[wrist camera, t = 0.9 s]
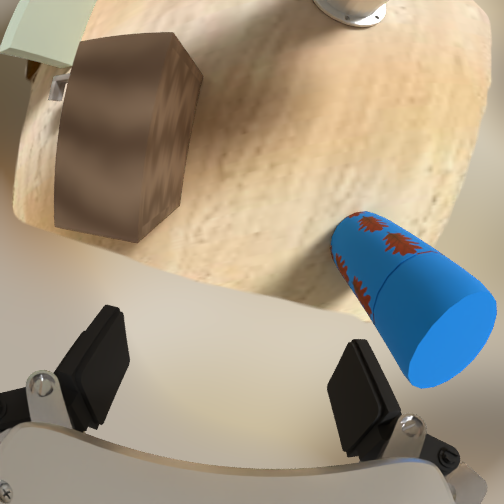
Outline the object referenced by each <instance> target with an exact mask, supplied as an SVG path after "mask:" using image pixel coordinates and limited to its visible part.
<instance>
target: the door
mask: <svg viewBox="0 0 504 504" xmlns="http://www.w3.org/2000/svg"><path fill="white" fill-rule="evenodd" d="M96 1H97V0H20V2H19V4H18V6H17V8H16V10H15V12H14V14H13V16H12V18H11V21H10V23H9V25H8V28H7V30H6V33H5V35H4V38H3V41H2V44H1V46H0V53H1V54H6V55H11V56H16V57H20V58H24V59H28V60H33V61H36V62H40V63H44V64H48V65H51V66H55V67H58V68H65V67H70V66H72V65H73V61H74V58H75V55H76V52H77V48H78V45H79V42H81V39H82V36H83V33H84V31H85V28H86V25H87V23H88V20H89V18H90V15H91V13H92V11H93V8H94V6H95V4H96Z"/></svg>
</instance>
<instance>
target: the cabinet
mask: <svg viewBox="0 0 504 504" xmlns="http://www.w3.org/2000/svg"><path fill="white" fill-rule="evenodd" d="M202 79H203V75H202V74H201V72H200V71H199V69H198V68H197V66H196V65H195V63H194V62H193V60H192V59H191V57H190V56H189V54H188V53H187V51H186V50H185V49H184V47H183V46H182V44H181V43H180V41H179V40H178V38H177V37H176V36H175V34H174V33H173V32H161V33H140V34H128V35H119V36H111V37H104V38H98V39H92V40H86V41H81V42H79V45H78V48H77V52H76V55H75V58H74V61H73V65H72V69H71V72H70V74H64V75H58V76H53V80H52V85H51V89H50V94H49V98H48V100H53V101H62V97H63V93H64V88H65V84H66V83H68V84H67V89H66V93H65V98H64V103H63V108H62V114H61V120H60V127H59V134H58V142H57V152H56V164H55V184H54V220H55V227H57V228H62V229H67V230H72V231H77V232H82V233H87V234H93V235H98V236H103V237H108V238H113V239H118V240H123V241H129V242H134V243H138V242H139V241H140V240H142V239H143V238H144V237H145V236H146V235H147V234H148V233H149V232H150V231H151V230H152V229H154V228H155V227H156V226H157V225H158V224H159V223H160V222H161V221H163V220H164V219H165V218H166V217H167V216H168V215H169V214H171V213H172V212H173V211H174V210H175V209H176V208H177V207H179V206H180V199H181V192H182V185H183V178H184V171H185V165H186V159H187V153H188V147H189V141H190V136H191V130H192V125H193V120H194V115H195V110H196V106H197V101H198V96H199V92H200V87H201V83H202Z"/></svg>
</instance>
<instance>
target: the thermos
mask: <svg viewBox="0 0 504 504" xmlns="http://www.w3.org/2000/svg"><path fill="white" fill-rule="evenodd" d="M330 249H331V254H332V258H333V260H334V262H335V264H336V266H337V268H338V270H339V271H340V273H341V274H342V276H343V277H344V279H345V280H346V282H347V283H348V285H349V286H350V288H351V289H352V291H353V292H354V294H355V295H356V297H357V298H358V300H359V301H360V303H361V305H362V306H363V308H364V309H365V311H366V312H367V314H368V316H369V317H370V319H371V320H372V322H373V324H374V325H375V327H376V328H377V330H378V332H379V333H380V335H381V337H382V338H383V340H384V342H385V343H386V345H387V346H388V348H389V350H390V352H391V353H392V355H393V357H394V358H395V360H396V362H397V364H398V365H399V367H400V369H401V371H402V372H403V374H404V375H405V377H406V378H407V379H408V380H409V382H410V383H411V384H412V385H413V386H416V387H419V388H421V389H422V388H430V387H435V386H437V385H440V384H442V383H444V382H446V381H448V380H450V379H451V378H453V377H454V376H456V375H457V374H458V373H460V372H461V371H462V370H463V369H464V368H465V367H467V365H468V364H470V363H471V362H472V361H473V360H474V358H475V357H476V356H477V355H478V353H479V352H480V351H481V349H482V348H483V346H484V345H485V343H486V342H487V340H488V338H489V335H490V333H491V331H492V329H493V326H494V323H495V319H496V315H497V310H496V301H495V299H494V297H493V296H492V294H491V293H490V292H489V291H488V290H487V289H486V288H485V286H484V285H483V284H482V283H481V282H480V281H479V280H477V279H476V278H475V277H473V276H472V275H471V274H469V273H468V272H467V271H465V270H464V269H463V268H461V267H460V266H459V265H457V264H456V263H454V262H453V261H451V260H450V259H449V258H447V257H445V256H444V255H443V254H441V253H440V252H439V251H437V250H436V249H434V248H433V247H431V246H430V245H428V244H427V243H425V242H423V241H422V240H420V239H419V238H417V237H416V236H414V235H413V234H411V233H409V232H408V231H406V230H405V229H403V228H401V227H400V226H398V225H396V224H395V223H393V222H391V221H390V220H388V219H386V218H384V217H381V216H379V215H377V214H374V213H370V212H367V211H365V212H356V213H354V214H352V215H350V216H348V217H346V218H345V219H344V220H343V221H342V222H341V223H340V224H339V225H338V226H337V228H336V230H335V232H334V234H333V236H332V240H331V247H330Z"/></svg>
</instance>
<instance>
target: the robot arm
mask: <svg viewBox="0 0 504 504" xmlns="http://www.w3.org/2000/svg"><path fill="white" fill-rule="evenodd" d="M313 1H314V3H315V4H316V5H317V6H318V7H319V8H320V9H321V10H322V11H323V12H324V13H325V14H327V15H328V16H330V17H331V18H333V19H335V20H337V21H339V22H341V23H344V24H347V25H351V26H355V27H370V26H374V25H376V24H378V23H379V22H380V21H381V20H382V19H383V18H384V16H385V13H386V6H385V3H386V2H388V1H389V0H313ZM129 362H130V357H129V351H128V345H127V338H126V331H125V323H124V315H123V313H122V312H120V309H119V308H118V307H114V306H110V305H105V306H104V307H103V308H102V310H101V311H100V312H99V314H98V315H97V316H96V318H95V319H94V320H93V322H92V323H91V324H90V325H89V327H88V328H87V330H86V331H83V332H82V333H81V334H80V336H79V337H78V339H77V340H76V341H75V343H74V344H73V346H72V347H71V348H70V350H69V351H68V353H67V354H66V355H65V357H64V358H63V360H62V361H61V363H60V364H59V366H58V367H57V369H56V370H55V372H54V373H52V372H50V371H46V370H40V371H37V372H34V373H33V374H31V375H30V376H29V378H28V379H27V382H26V387H24V388H20V389H16V390H11V391H7V392H3V393H0V504H481V502H482V500H483V498H484V497H485V495H486V492H487V484H486V482H485V480H484V479H483V478H482V477H480V476H479V475H478V474H477V473H476V472H475V471H473V470H472V469H471V468H470V467H469V466H468V465H467V464H465V463H464V462H462V463H460V455H459V453H458V451H457V450H456V449H455V448H454V447H453V446H451V445H449V444H447V443H445V442H443V441H441V440H438V439H437V438H435V437H432V436H430V435H429V434H427V426H426V423H425V422H424V420H423V419H422V418H421V417H420V416H418V415H416V414H413V413H406V414H403V415H402V414H401V409H400V407H399V404H398V402H397V400H396V398H395V396H394V394H393V391H392V389H391V387H390V385H389V383H388V381H387V379H386V377H385V375H384V373H383V371H382V369H381V367H380V365H379V363H378V361H377V359H376V357H375V355H374V353H373V351H372V349H371V347H370V345H369V343H368V342H367V340H365V339H353V340H352V341H351V342H349V343H348V344H347V346H346V348H345V350H344V353H343V355H342V357H341V359H340V361H339V363H338V365H337V367H336V369H335V371H334V373H333V375H332V377H331V379H330V381H329V383H328V386H327V391H328V395H329V399H330V402H331V406H332V410H333V413H334V418H335V421H336V425H337V429H338V433H339V437H340V441H341V445H342V449H343V451H344V452H346V453H347V457H355V456H359V459H360V461H359V463H353V464H345V465H336V466H327V467H316V468H299V469H253V468H235V467H225V466H216V465H207V464H200V463H194V462H187V461H182V460H176V459H171V458H167V457H162V456H158V455H153V454H149V453H145V452H141V451H137V450H134V449H131V448H128V447H124V446H120V445H117V444H114V443H111V442H108V441H105V440H102V439H99V438H96V437H94V436H91V435H88V434H86V433H85V431H86V430H87V428H88V427H91V428H93V429H96V430H97V429H98V426H99V424H100V425H102V424H103V423H104V421H105V419H106V416H107V414H108V411H109V409H110V406H111V404H112V402H113V400H114V397H115V395H116V393H117V390H118V388H119V386H120V384H121V381H122V379H123V377H124V375H125V372H126V370H127V368H128V366H129Z"/></svg>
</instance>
